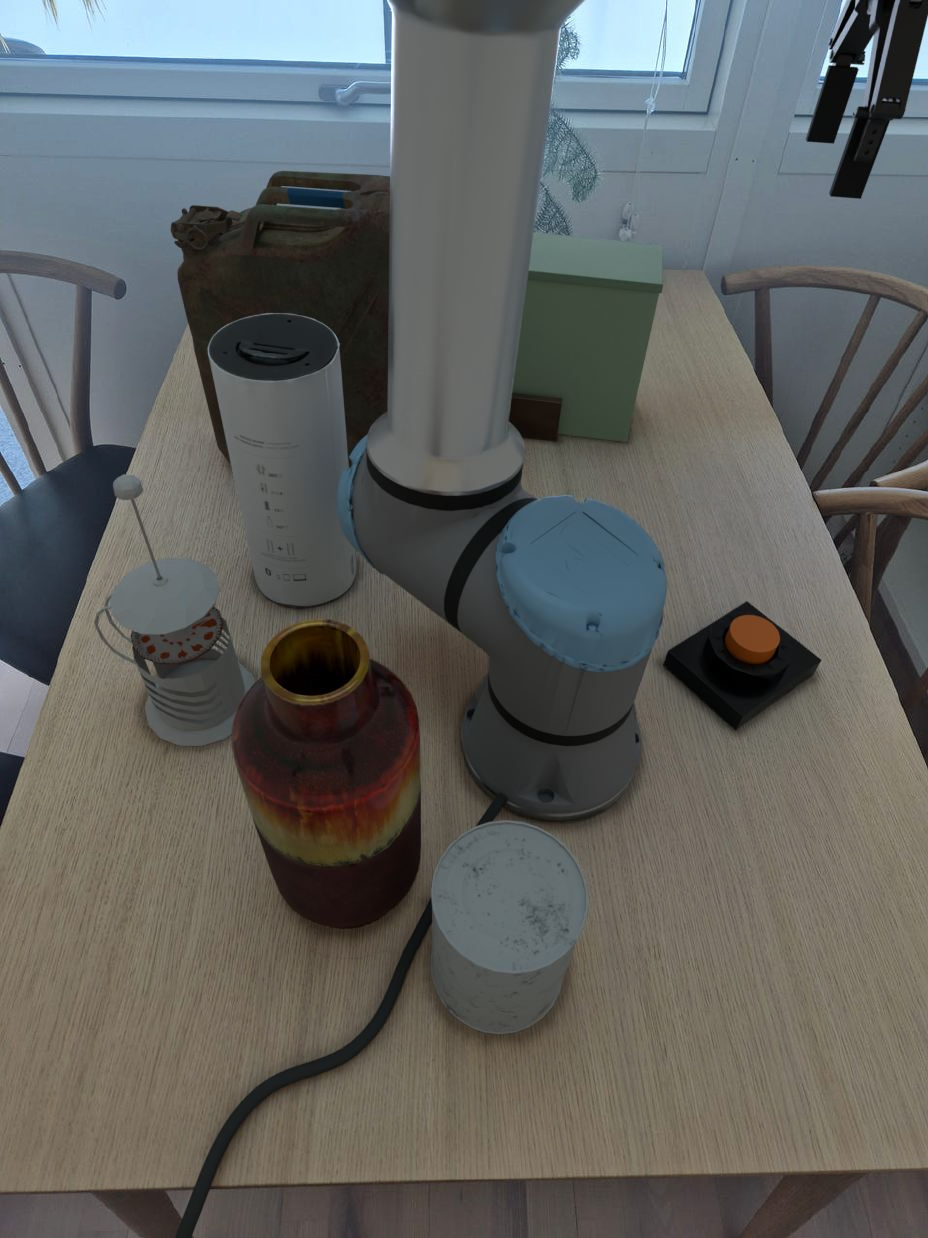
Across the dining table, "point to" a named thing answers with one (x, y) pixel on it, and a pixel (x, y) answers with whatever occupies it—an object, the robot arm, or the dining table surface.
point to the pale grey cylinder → (504, 924)
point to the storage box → (588, 329)
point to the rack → (535, 416)
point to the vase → (332, 774)
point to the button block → (738, 670)
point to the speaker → (286, 451)
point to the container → (297, 277)
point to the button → (752, 639)
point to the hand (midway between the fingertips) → (831, 167)
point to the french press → (178, 643)
